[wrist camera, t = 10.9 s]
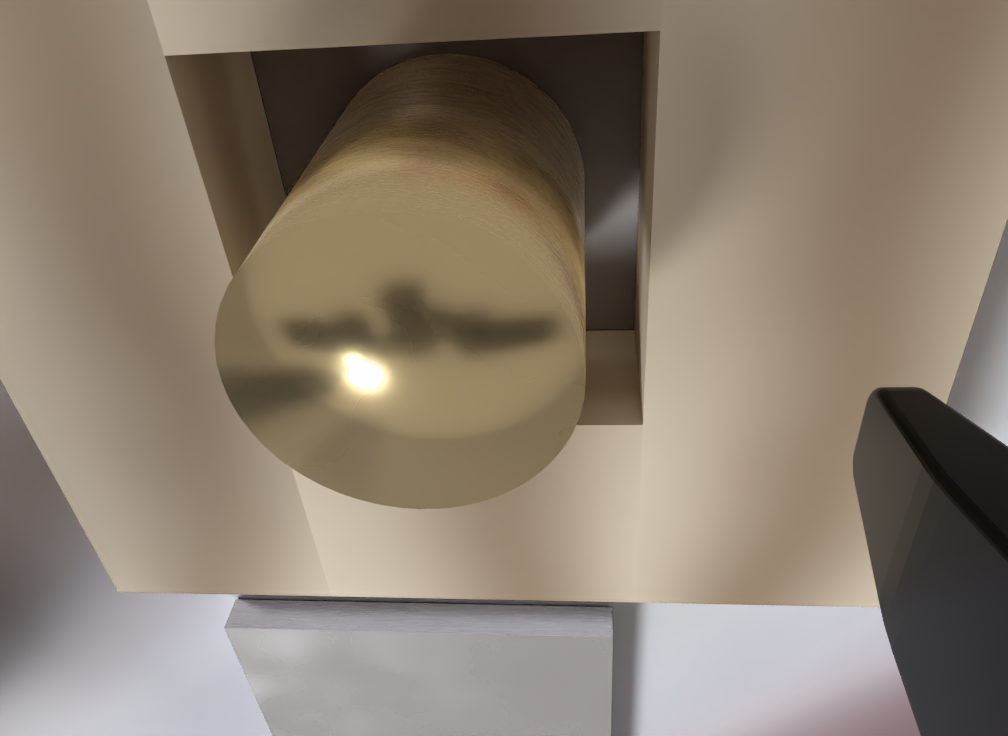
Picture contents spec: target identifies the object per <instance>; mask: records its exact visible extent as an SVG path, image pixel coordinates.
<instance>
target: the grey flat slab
mask: <svg viewBox="0 0 1008 736" xmlns="http://www.w3.org/2000/svg"><path fill="white" fill-rule="evenodd" d="M224 629H225V631H226V633H227V635H228V638H229V640H230V642H231V644H232V646H233V649H234V651H235V653H236V655H237V658H238V660H239V662H240V664H241V666H242V669H243V671H244V673H245V675H246V678H247V680H248V682H249V684H250V686H251V689H252V691H253V693H254V695H255V698H256V700H257V702H258V704H259V706H260V709H261V711H262V713H263V715H264V717H265V720H266V722H267V724H268V726H269V729H270V731H271V733H272V735H273V736H611V713H612V662H613V624H612V607H574V606H526V605H477V604H429V603H380V602H332V601H283V600H235V603H234V605H233V607H232V610H231V612H230V615H229V617H228V620H227V622H226V625H225V627H224Z"/></svg>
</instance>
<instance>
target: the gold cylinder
mask: <svg viewBox="0 0 1008 736" xmlns="http://www.w3.org/2000/svg"><path fill="white" fill-rule="evenodd" d="M214 345H215V354H216V363H217V366H218V370H219V374H220V378H221V381H222V384H223V386H224V388H225V391H226V393H227V395H228V398H229V400H230V402H231V403H232V405H233V407H234V408H235V410H236V412H237V413H238V415H239V417H240V418H241V420H242V421H243V422H244V423H245V425H246V426H247V427H248V429H249V430H250V431H251V432H252V434H253V435H254V436H255V437H256V438H257V439H258V440H259V441H260V442H261V443H262V444H263V445H264V446H265V447H266V448H267V449H268V450H269V451H270V452H272V453H273V454H274V455H275V456H276V457H278V458H279V459H280V460H281V461H282V462H284V463H285V464H287V465H288V466H289V467H291V468H292V469H294V470H295V471H297V472H298V473H300V474H301V475H303V476H305V477H307V478H309V479H310V480H312V481H314V482H316V483H318V484H320V485H322V486H324V487H326V488H329V489H331V490H333V491H336V492H338V493H340V494H343V495H346V496H349V497H352V498H355V499H358V500H362V501H366V502H370V503H375V504H379V505H384V506H391V507H398V508H410V509H443V508H451V507H459V506H465V505H470V504H474V503H478V502H482V501H486V500H488V499H491V498H494V497H497V496H500V495H502V494H505V493H507V492H509V491H511V490H513V489H515V488H517V487H519V486H521V485H522V484H524V483H525V482H527V481H528V480H530V479H531V478H533V477H534V476H536V475H537V474H538V473H540V472H541V471H542V470H543V469H544V468H545V467H547V466H548V465H549V464H550V463H551V462H552V461H553V460H554V458H555V457H556V456H557V455H558V454H559V453H560V452H561V450H562V449H563V448H564V446H565V445H566V443H567V442H568V440H569V438H570V437H571V435H572V434H573V431H574V429H575V427H576V424H577V422H578V420H579V417H580V414H581V410H582V406H583V402H584V396H585V383H586V333H585V179H584V167H583V161H582V157H581V152H580V148H579V145H578V143H577V140H576V137H575V135H574V132H573V130H572V128H571V127H570V125H569V123H568V121H567V119H566V117H565V116H564V115H563V113H562V112H561V111H560V109H559V108H558V106H557V105H556V104H555V103H554V101H553V100H552V99H551V98H550V97H549V96H548V95H547V94H546V93H545V92H544V91H543V90H542V89H541V88H539V87H538V86H537V85H536V84H534V83H533V82H532V81H531V80H529V79H528V78H526V77H525V76H523V75H522V74H520V73H518V72H517V71H515V70H513V69H511V68H509V67H507V66H504V65H502V64H500V63H498V62H495V61H492V60H488V59H485V58H481V57H478V56H471V55H465V54H445V53H441V54H433V55H424V56H420V57H417V58H413V59H409V60H406V61H403V62H401V63H399V64H396V65H394V66H392V67H390V68H388V69H386V70H385V71H383V72H381V73H380V74H378V75H376V76H375V77H374V78H373V79H372V80H370V81H369V82H368V83H367V84H366V85H364V86H363V87H362V88H361V89H360V91H359V92H358V93H357V94H356V95H355V96H354V97H353V98H352V100H351V101H350V103H349V104H348V106H347V107H346V109H345V110H344V112H343V113H342V115H341V116H340V118H339V119H338V121H337V122H336V124H335V125H334V127H333V128H332V130H331V131H330V133H329V134H328V136H327V137H326V139H325V140H324V142H323V143H322V145H321V146H320V148H319V149H318V151H317V152H316V154H315V155H314V157H313V158H312V160H311V161H310V163H309V164H308V166H307V167H306V169H305V170H304V172H303V173H302V175H301V176H300V178H299V179H298V181H297V182H296V184H295V185H294V187H293V188H292V190H291V191H290V193H289V194H288V196H287V197H286V199H285V200H284V202H283V203H282V205H281V206H280V208H279V209H278V211H277V212H276V214H275V215H274V217H273V218H272V220H271V221H270V223H269V224H268V226H267V227H266V229H265V230H264V232H263V233H262V235H261V236H260V238H259V239H258V241H257V242H256V244H255V245H254V247H253V248H252V250H251V251H250V253H249V254H248V256H247V257H246V259H245V260H244V262H243V263H242V265H241V266H240V268H239V269H238V271H237V272H236V274H235V276H234V277H233V279H232V280H231V282H230V283H229V285H228V286H227V289H226V291H225V293H224V296H223V298H222V301H221V303H220V306H219V310H218V314H217V319H216V323H215V340H214Z"/></svg>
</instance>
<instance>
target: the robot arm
mask: <svg viewBox="0 0 1008 736" xmlns="http://www.w3.org/2000/svg"><path fill="white" fill-rule="evenodd" d="M853 477H854V483H855V488H856V493H857V498H858V502H859V507H860V512H861V517H862V522H863V527H864V532H865V537H866V541H867V546H868V551H869V556H870V561H871V566H872V571H873V576H874V580H875V585H876V590H877V595H878V600H879V604H880V609H881V613H882V617H883V622H884V626H885V629H886V632H887V635H888V639H889V642H890V645H891V649H892V652H893V655H894V658H895V661H896V664H897V667H898V670H899V673H900V676H901V679H902V682H903V684H904V687H905V690H906V693H907V696H908V699H909V702H910V705H911V708H912V711H913V714H914V717H915V720H916V723H917V726H918V729H919V732H920V735H921V736H1008V446H1006V445H1005V444H1003V443H1002V442H1001V441H999V440H998V439H996V438H995V437H993V436H992V435H990V434H989V433H987V432H986V431H985V430H983V429H982V428H980V427H979V426H977V425H976V424H974V423H973V422H971V421H970V420H969V419H967V418H966V417H964V416H963V415H961V414H960V413H958V412H957V411H955V410H954V409H953V408H951V407H950V406H948V405H947V404H945V403H944V402H942V401H941V400H940V399H938V398H937V397H935V396H934V395H932V394H931V393H929V392H928V391H926V390H924V389H922V388H919V387H879V388H877V389H875V390H873V391H872V392H871V394H870V395H869V397H868V399H867V402H866V406H865V410H864V414H863V418H862V422H861V426H860V430H859V434H858V438H857V442H856V445H855V449H854V454H853Z"/></svg>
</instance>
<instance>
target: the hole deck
mask: <svg viewBox="0 0 1008 736" xmlns="http://www.w3.org/2000/svg"><path fill="white" fill-rule="evenodd" d="M624 32H644V50H643V81H642V111H641V141H640V171H639V202H638V232H637V262H636V292H635V323H634V330H617V331H585V333H586V383H585V396H584V402H583V406H582V410H581V414H580V417H579V420H578V422H577V424H576V427H575V429H574V431H573V434H572V435H571V437H570V438H569V440H568V442H567V443H566V445H565V446H564V448H563V449H562V450H561V452H560V453H559V454H558V455H557V456H556V457H555V458H554V460H553V461H552V462H551V463H550V464H549V465H548V466H547V467H545V468H544V469H543V470H542V471H541V472H540V473H538V474H537V475H536V476H534V477H533V478H531V479H530V480H528V481H527V482H525V483H524V484H522V485H521V486H519V487H517V488H515V489H513V490H511V491H509V492H507V493H505V494H502V495H500V496H497V497H494V498H491V499H488V500H486V501H482V502H478V503H474V504H470V505H465V506H459V507H451V508H443V509H410V508H398V507H391V506H384V505H379V504H375V503H370V502H366V501H362V500H358V499H355V498H352V497H349V496H346V495H343V494H340V493H338V492H336V491H333V490H331V489H329V488H326V487H324V486H322V485H320V484H318V483H316V482H314V481H312V480H310V479H309V478H307V477H305V476H303V475H301V474H300V473H298V472H297V471H295V470H294V469H292V468H291V467H289V466H288V465H287V464H285V463H284V462H282V461H281V460H280V459H279V458H278V457H276V456H275V455H274V454H273V453H272V452H270V451H269V450H268V449H267V448H266V447H265V446H264V445H263V444H262V443H261V442H260V441H259V440H258V439H257V438H256V437H255V436H254V435H253V434H252V432H251V431H250V430H249V429H248V427H247V426H246V425H245V423H244V422H243V421H242V420H241V418H240V417H239V415H238V413H237V412H236V410H235V408H234V407H233V405H232V403H231V402H230V400H229V398H228V395H227V393H226V391H225V388H224V386H223V384H222V381H221V378H220V374H219V370H218V366H217V363H216V354H215V345H214V340H215V323H216V319H217V314H218V310H219V306H220V303H221V301H222V298H223V296H224V293H225V291H226V289H227V286H228V285H229V283H230V282H231V280H232V279H233V277H234V276H235V274H236V272H237V271H238V269H239V268H240V266H241V265H242V263H243V262H244V260H245V259H246V257H247V256H248V254H249V253H250V251H251V250H252V248H253V247H254V245H255V244H256V242H257V241H258V239H259V238H260V236H261V235H262V233H263V232H264V230H265V229H266V227H267V226H268V224H269V223H270V221H271V220H272V218H273V217H274V215H275V214H276V212H277V211H278V209H279V208H280V206H281V205H282V203H283V202H284V200H285V199H286V196H285V192H284V188H283V184H282V179H281V175H280V171H279V167H278V163H277V159H276V155H275V151H274V147H273V143H272V139H271V135H270V131H269V127H268V123H267V119H266V115H265V111H264V107H263V103H262V99H261V95H260V90H259V86H258V82H257V78H256V74H255V70H254V66H253V62H252V58H251V54H250V51H268V50H288V49H308V48H327V47H347V46H367V45H387V44H407V43H426V42H446V41H466V40H486V39H505V38H525V37H545V36H565V35H585V34H604V33H624ZM1007 220H1008V0H0V380H1V382H2V383H3V385H4V387H5V389H6V391H7V392H8V394H9V396H10V398H11V400H12V401H13V403H14V405H15V407H16V409H17V410H18V412H19V414H20V416H21V418H22V419H23V421H24V423H25V425H26V427H27V428H28V430H29V432H30V434H31V436H32V438H33V439H34V441H35V443H36V445H37V447H38V448H39V450H40V452H41V454H42V456H43V457H44V459H45V461H46V463H47V465H48V466H49V468H50V470H51V472H52V474H53V475H54V477H55V479H56V481H57V483H58V484H59V486H60V488H61V490H62V492H63V493H64V495H65V497H66V499H67V501H68V502H69V504H70V506H71V508H72V510H73V511H74V513H75V515H76V517H77V519H78V521H79V522H80V524H81V526H82V528H83V530H84V531H85V533H86V535H87V537H88V539H89V540H90V542H91V544H92V546H93V548H94V549H95V551H96V553H97V555H98V557H99V558H100V560H101V562H102V564H103V566H104V567H105V569H106V571H107V573H108V575H109V576H110V578H111V580H112V582H113V584H114V585H115V587H116V589H117V591H118V592H140V593H191V594H241V595H291V596H341V597H391V598H441V599H491V600H541V601H592V602H642V603H692V604H742V605H792V606H842V607H879V605H880V604H879V600H878V595H877V590H876V585H875V580H874V576H873V571H872V566H871V561H870V556H869V551H868V546H867V541H866V537H865V532H864V527H863V522H862V517H861V512H860V507H859V502H858V498H857V493H856V488H855V483H854V477H853V454H854V449H855V445H856V442H857V438H858V434H859V430H860V426H861V422H862V418H863V414H864V410H865V406H866V402H867V399H868V397H869V395H870V394H871V392H872V391H873V390H875V389H877V388H879V387H919V388H922V389H924V390H926V391H928V392H929V393H931V394H932V395H934V396H935V397H937V398H938V399H940V400H941V401H942V402H944V403H945V404H946V403H947V400H948V397H949V394H950V391H951V388H952V385H953V382H954V379H955V376H956V373H957V370H958V367H959V364H960V361H961V358H962V355H963V352H964V349H965V346H966V343H967V340H968V337H969V334H970V331H971V328H972V325H973V322H974V319H975V316H976V313H977V310H978V307H979V304H980V301H981V298H982V295H983V292H984V289H985V286H986V283H987V280H988V277H989V274H990V271H991V268H992V265H993V262H994V259H995V256H996V253H997V250H998V247H999V244H1000V241H1001V238H1002V235H1003V232H1004V229H1005V226H1006V223H1007Z"/></svg>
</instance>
